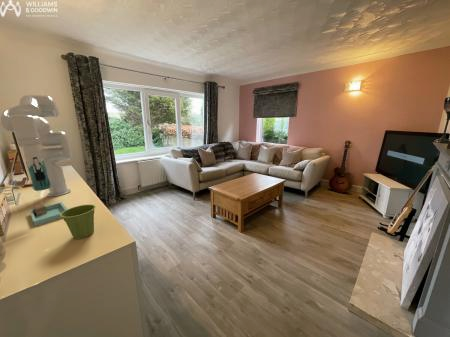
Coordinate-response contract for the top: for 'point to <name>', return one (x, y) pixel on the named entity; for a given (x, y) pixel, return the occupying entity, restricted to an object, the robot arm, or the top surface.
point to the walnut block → (39, 210)
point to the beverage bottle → (43, 183)
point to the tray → (49, 214)
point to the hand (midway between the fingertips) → (40, 178)
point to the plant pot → (80, 220)
